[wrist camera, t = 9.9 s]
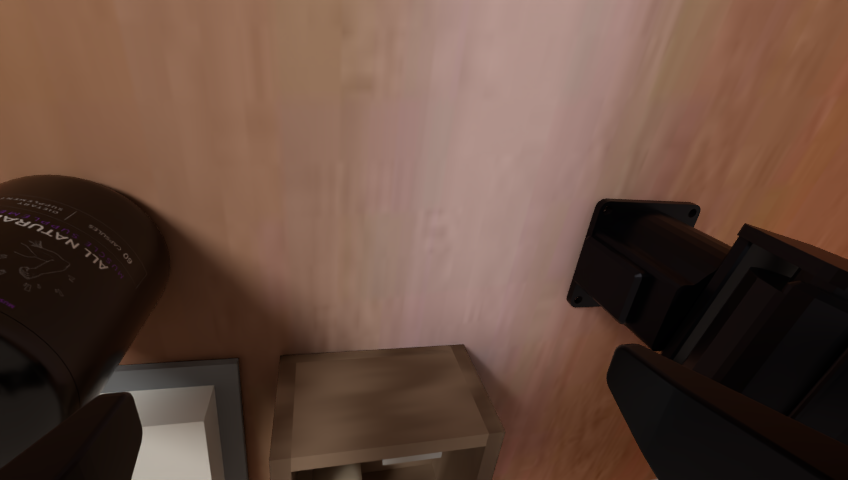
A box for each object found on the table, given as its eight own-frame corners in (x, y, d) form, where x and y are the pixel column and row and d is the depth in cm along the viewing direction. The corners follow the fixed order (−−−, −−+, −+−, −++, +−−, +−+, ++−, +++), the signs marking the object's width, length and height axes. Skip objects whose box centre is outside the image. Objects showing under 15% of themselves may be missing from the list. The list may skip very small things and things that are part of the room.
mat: (238, 358, 21) (236, 363, 20) (252, 528, 26) (251, 535, 26) (-131, 380, 17) (-141, 387, 17) (-20, 572, 23) (-25, 581, 22)
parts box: (463, 344, 24) (505, 431, 18) (439, 461, 28) (468, 560, 23) (280, 355, 21) (269, 460, 16) (284, 483, 25) (276, 599, 20)
